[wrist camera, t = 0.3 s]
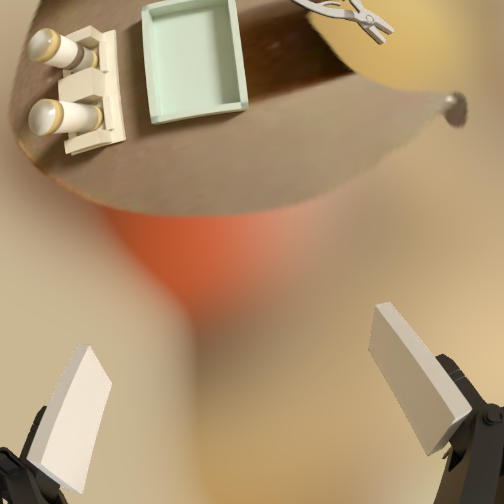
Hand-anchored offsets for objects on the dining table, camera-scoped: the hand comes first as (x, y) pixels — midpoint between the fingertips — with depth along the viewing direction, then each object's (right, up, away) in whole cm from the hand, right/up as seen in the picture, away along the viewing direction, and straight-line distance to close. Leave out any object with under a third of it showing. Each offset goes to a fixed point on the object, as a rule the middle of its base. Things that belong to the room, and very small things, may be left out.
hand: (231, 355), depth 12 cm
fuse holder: (-20, +25, +17) cm, 36 cm away
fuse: (-19, +21, +18) cm, 34 cm away
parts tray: (-6, +28, +17) cm, 33 cm away
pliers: (+14, +39, +15) cm, 44 cm away
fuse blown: (-20, +29, +14) cm, 38 cm away
